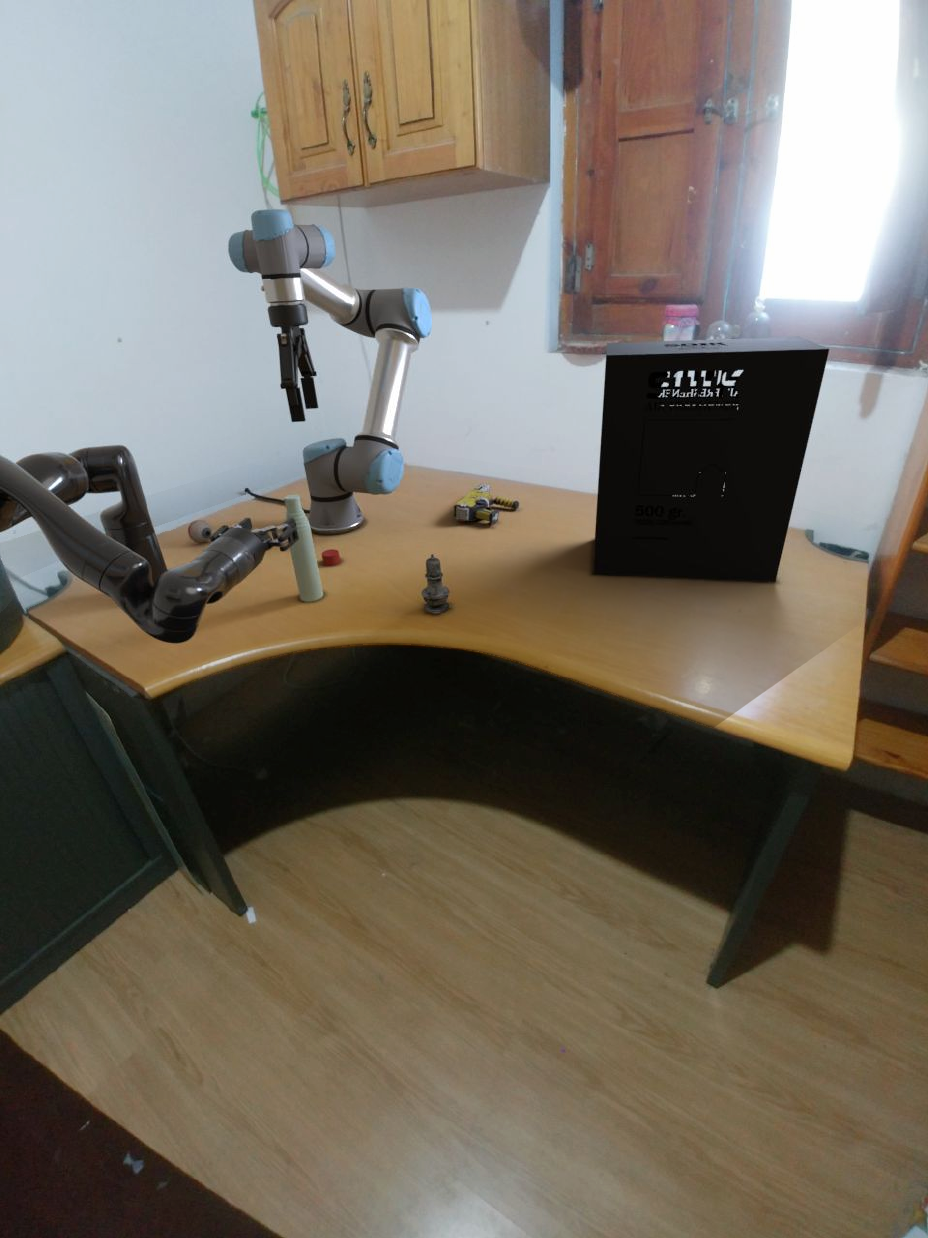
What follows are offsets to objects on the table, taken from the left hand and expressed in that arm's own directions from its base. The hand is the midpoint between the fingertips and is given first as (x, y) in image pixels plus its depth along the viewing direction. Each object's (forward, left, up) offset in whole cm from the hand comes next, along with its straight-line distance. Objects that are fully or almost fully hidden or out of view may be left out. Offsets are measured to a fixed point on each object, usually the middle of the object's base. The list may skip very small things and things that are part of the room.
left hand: (271, 522), depth 113 cm
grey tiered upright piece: (+29, +7, -21) cm, 36 cm away
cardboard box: (+81, +32, -21) cm, 89 cm away
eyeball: (-42, +40, -21) cm, 62 cm away
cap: (-1, +28, -19) cm, 34 cm away
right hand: (-1, +28, +14) cm, 31 cm away
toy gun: (+34, +64, -21) cm, 76 cm away
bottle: (0, +11, -21) cm, 24 cm away
